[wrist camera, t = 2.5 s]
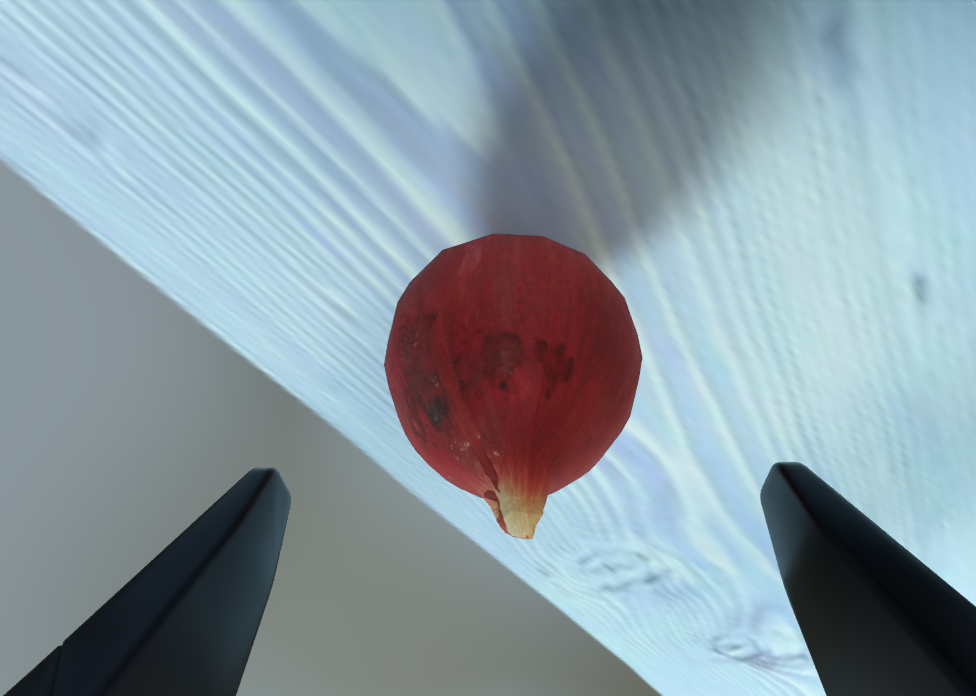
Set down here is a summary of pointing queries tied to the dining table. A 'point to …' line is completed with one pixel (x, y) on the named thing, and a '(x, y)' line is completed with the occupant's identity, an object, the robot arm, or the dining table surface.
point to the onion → (512, 370)
